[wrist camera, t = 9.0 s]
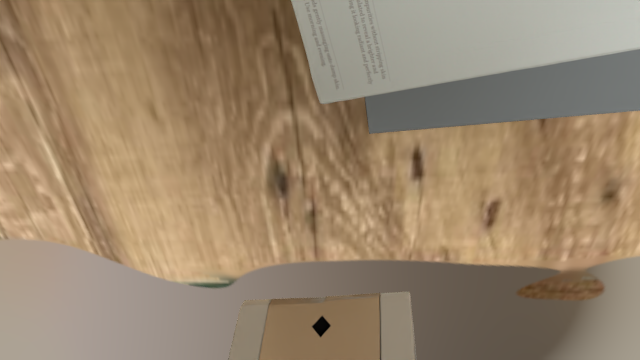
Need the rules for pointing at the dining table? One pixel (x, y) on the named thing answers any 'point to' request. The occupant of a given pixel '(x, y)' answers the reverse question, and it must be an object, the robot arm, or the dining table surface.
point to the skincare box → (451, 39)
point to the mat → (514, 95)
